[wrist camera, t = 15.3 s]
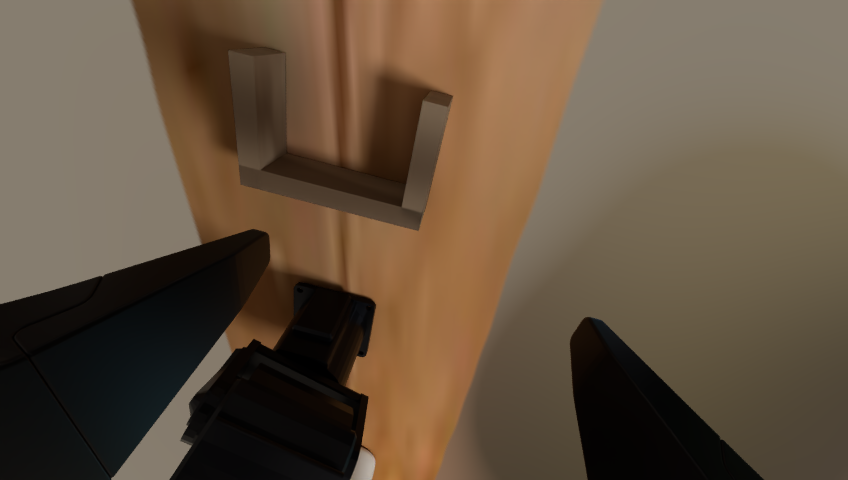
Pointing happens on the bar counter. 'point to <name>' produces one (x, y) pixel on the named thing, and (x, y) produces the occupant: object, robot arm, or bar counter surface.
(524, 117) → the bar counter surface
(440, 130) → the dock
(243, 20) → the bar counter surface
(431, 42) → the bar counter surface
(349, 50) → the bar counter surface
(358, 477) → the drinking glass
